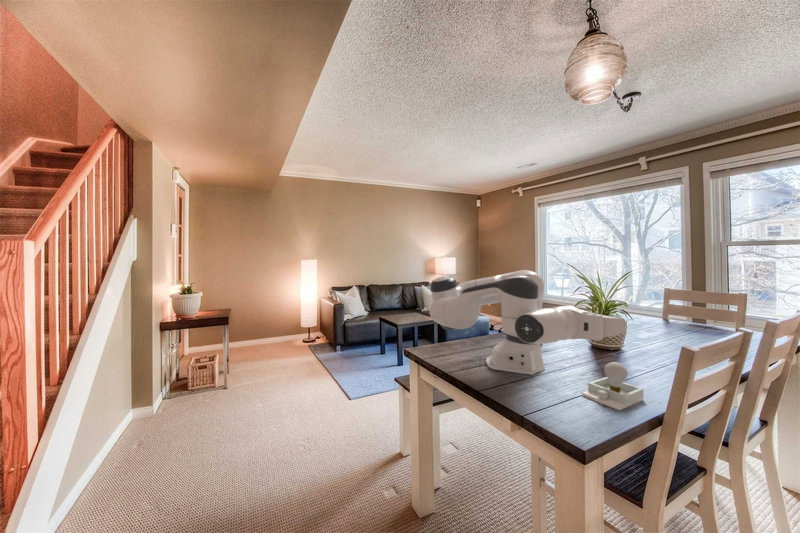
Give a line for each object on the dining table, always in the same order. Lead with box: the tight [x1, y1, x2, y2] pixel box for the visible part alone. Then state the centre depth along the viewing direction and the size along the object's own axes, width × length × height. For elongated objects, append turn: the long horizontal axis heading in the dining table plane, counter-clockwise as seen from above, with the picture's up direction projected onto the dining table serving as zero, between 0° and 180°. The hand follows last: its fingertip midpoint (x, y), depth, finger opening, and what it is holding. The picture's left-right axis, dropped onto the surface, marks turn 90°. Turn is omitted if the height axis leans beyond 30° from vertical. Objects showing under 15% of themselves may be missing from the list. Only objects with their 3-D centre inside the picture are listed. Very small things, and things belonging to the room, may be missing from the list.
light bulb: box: [604, 361, 628, 393], centre depth 95 cm, size 6×6×10 cm
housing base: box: [582, 376, 645, 411], centre depth 94 cm, size 14×11×4 cm
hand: (596, 316), depth 88 cm, fingers open, 8 cm apart
